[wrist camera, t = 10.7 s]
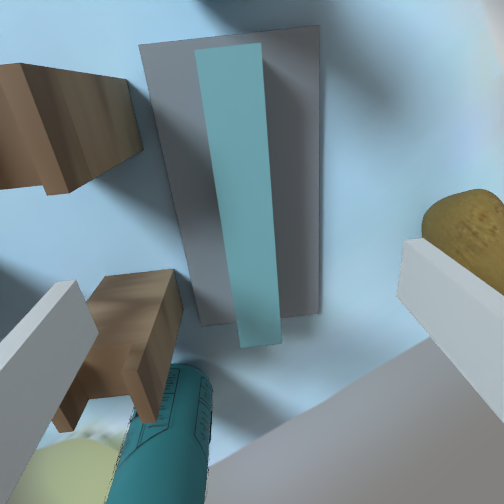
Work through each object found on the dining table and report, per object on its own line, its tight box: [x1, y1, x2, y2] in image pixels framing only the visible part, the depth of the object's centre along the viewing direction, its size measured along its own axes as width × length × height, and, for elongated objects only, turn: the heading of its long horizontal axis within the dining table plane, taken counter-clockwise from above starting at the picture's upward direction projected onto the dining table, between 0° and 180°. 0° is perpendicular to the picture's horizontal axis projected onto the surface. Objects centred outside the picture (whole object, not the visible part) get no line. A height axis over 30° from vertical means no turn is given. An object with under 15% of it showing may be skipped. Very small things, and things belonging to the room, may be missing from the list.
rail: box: [194, 43, 282, 348], centre depth 20 cm, size 3×18×4 cm, turn 5°
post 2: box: [51, 269, 184, 433], centre depth 20 cm, size 5×4×10 cm
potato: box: [422, 189, 504, 296], centre depth 20 cm, size 7×8×8 cm
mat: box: [138, 25, 319, 326], centre depth 22 cm, size 10×20×1 cm, turn 6°
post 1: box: [0, 63, 144, 196], centre depth 14 cm, size 5×4×10 cm
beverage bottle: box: [106, 364, 214, 504], centre depth 20 cm, size 6×7×20 cm
